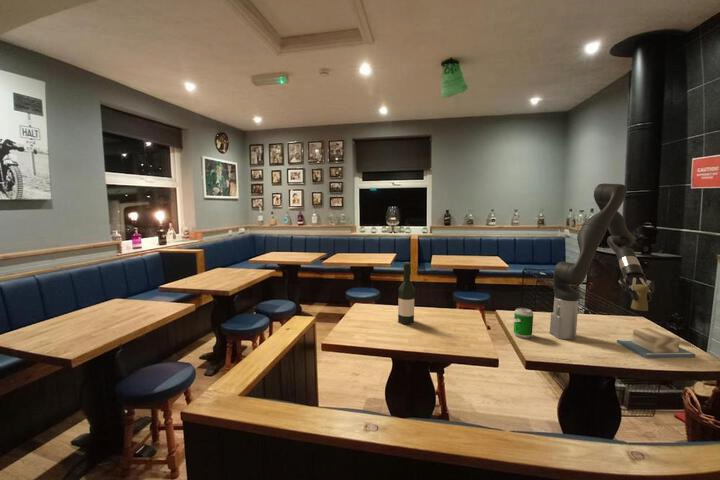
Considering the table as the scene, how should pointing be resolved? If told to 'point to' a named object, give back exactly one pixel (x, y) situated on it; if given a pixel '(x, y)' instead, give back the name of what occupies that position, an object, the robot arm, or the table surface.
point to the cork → (641, 298)
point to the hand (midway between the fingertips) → (642, 300)
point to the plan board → (648, 354)
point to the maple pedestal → (656, 340)
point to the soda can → (523, 322)
